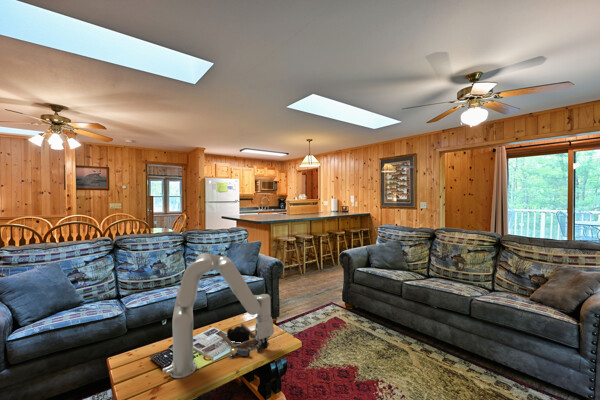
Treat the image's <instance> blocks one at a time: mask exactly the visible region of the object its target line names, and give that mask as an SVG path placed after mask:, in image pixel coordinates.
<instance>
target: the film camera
mask: <svg viewBox="0 0 600 400" xmlns="http://www.w3.org/2000/svg"><path fill="white" fill-rule="evenodd" d="M249 333H250V332H249V331H248V330H246V329H245V328H244V327H243V326H241V325H237V326H236V327H234V328H233V329H232V328H228V329H227V330H226V336H227V337H228V339H229V340H230V341H235V342H241V343H242V342H245V341H248V340H250V336H249Z"/></svg>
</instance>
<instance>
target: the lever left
mask: <svg viewBox="0 0 600 400" xmlns="http://www.w3.org/2000/svg"><path fill="white" fill-rule="evenodd" d="M229 348H230V347H229ZM250 352H251V351H250V349H246V348H243V349H241V348H238V347H232V348H230V349H229V355H230V356H237V355H238V356H237V357H240V356H241V357H250V355H251V353H250Z"/></svg>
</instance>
